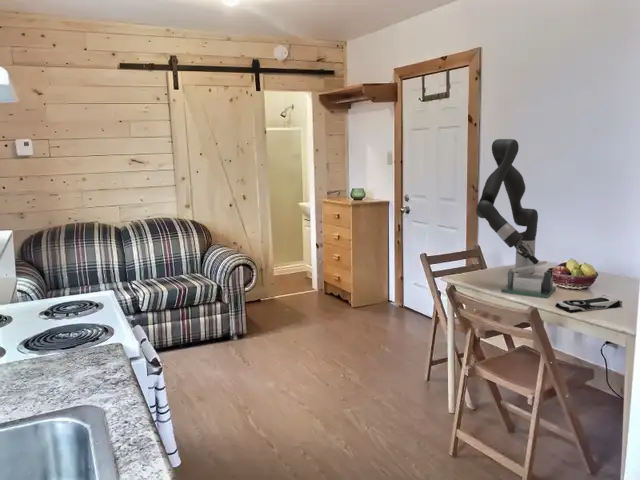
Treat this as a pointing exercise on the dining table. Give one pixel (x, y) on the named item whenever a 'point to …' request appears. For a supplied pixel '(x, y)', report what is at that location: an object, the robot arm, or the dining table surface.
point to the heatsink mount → (530, 284)
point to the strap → (528, 266)
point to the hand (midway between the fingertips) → (537, 263)
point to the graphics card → (588, 304)
